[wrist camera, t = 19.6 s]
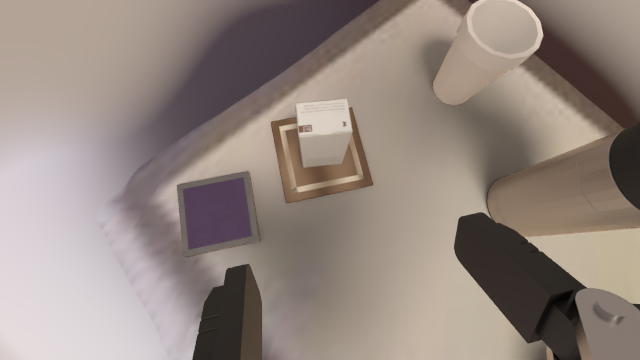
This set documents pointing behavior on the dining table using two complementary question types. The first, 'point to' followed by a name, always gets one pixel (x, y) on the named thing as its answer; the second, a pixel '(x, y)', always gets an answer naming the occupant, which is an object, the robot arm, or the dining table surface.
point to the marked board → (319, 178)
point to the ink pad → (217, 214)
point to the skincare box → (323, 132)
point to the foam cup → (486, 48)
